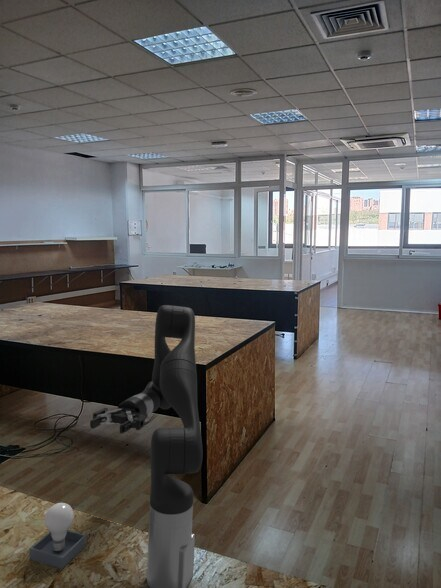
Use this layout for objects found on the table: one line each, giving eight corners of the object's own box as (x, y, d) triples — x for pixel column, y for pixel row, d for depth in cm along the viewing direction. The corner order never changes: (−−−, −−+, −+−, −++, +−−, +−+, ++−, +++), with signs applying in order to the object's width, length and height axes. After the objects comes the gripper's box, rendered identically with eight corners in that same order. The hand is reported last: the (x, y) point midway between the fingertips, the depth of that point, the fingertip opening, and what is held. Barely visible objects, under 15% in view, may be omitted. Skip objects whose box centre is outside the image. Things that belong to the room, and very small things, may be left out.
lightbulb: (37, 552, 102) (38, 506, 101) (59, 538, 108) (60, 494, 107) (57, 562, 99) (58, 515, 98) (78, 547, 105) (80, 502, 104)
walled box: (86, 545, 106) (86, 535, 106) (62, 569, 98) (62, 557, 98) (54, 537, 109) (55, 526, 108) (29, 559, 100) (29, 548, 100)
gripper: (114, 393, 132) (82, 409, 116) (158, 399, 128) (131, 416, 112) (113, 418, 132) (81, 437, 117) (157, 425, 128) (130, 446, 112)
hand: (106, 427), depth 114 cm, fingers open, 8 cm apart
